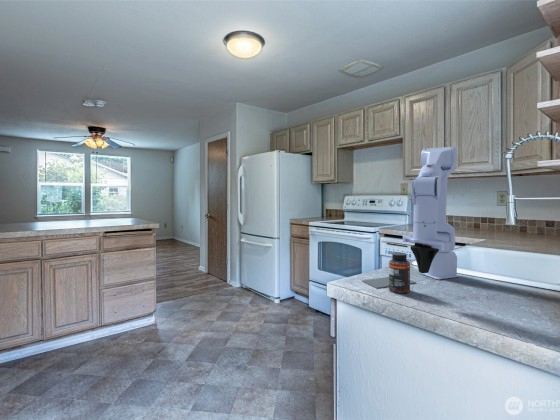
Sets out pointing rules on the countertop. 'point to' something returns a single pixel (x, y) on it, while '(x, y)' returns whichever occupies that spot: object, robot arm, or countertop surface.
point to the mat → (380, 282)
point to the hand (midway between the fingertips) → (423, 272)
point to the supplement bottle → (399, 273)
